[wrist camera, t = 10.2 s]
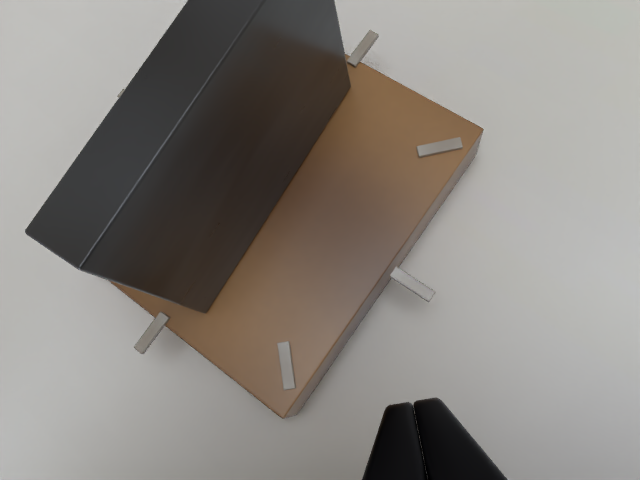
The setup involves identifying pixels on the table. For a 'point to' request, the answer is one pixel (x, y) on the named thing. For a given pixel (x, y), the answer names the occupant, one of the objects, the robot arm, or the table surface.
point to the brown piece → (328, 241)
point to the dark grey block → (199, 147)
